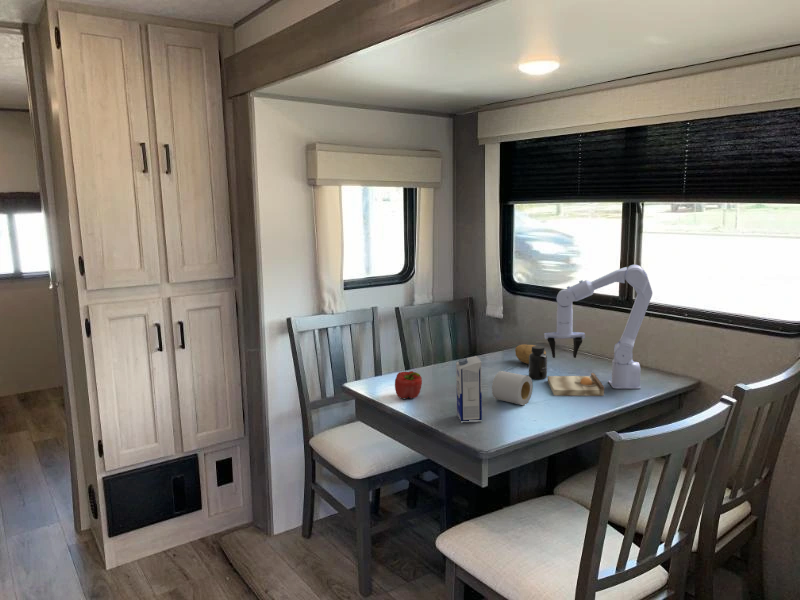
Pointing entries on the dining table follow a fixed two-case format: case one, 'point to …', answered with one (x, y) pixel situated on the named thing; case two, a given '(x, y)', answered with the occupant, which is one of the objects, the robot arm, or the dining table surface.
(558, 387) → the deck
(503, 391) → the toilet paper
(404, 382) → the vegetable
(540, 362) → the supplement bottle
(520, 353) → the potato
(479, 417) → the milk carton
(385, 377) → the dining table surface
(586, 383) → the ball
